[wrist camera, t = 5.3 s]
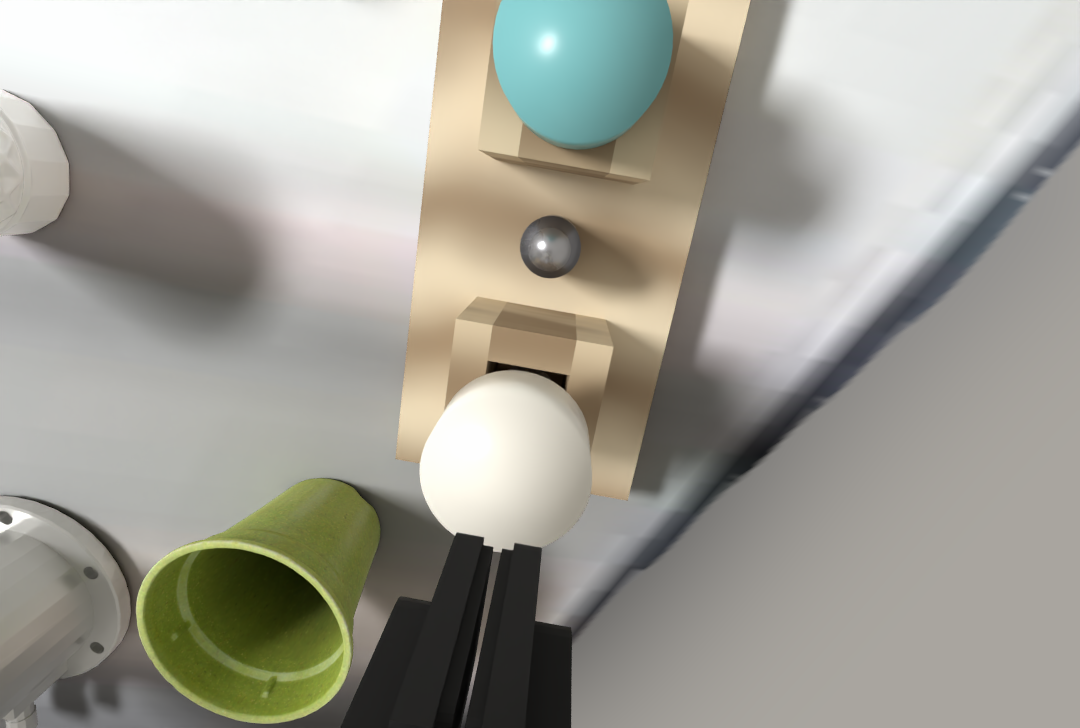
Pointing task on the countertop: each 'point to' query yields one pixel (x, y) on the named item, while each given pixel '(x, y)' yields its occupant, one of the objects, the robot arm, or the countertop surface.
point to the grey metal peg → (550, 246)
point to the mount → (594, 209)
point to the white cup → (29, 169)
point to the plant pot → (264, 605)
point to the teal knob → (581, 65)
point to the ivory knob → (509, 460)
